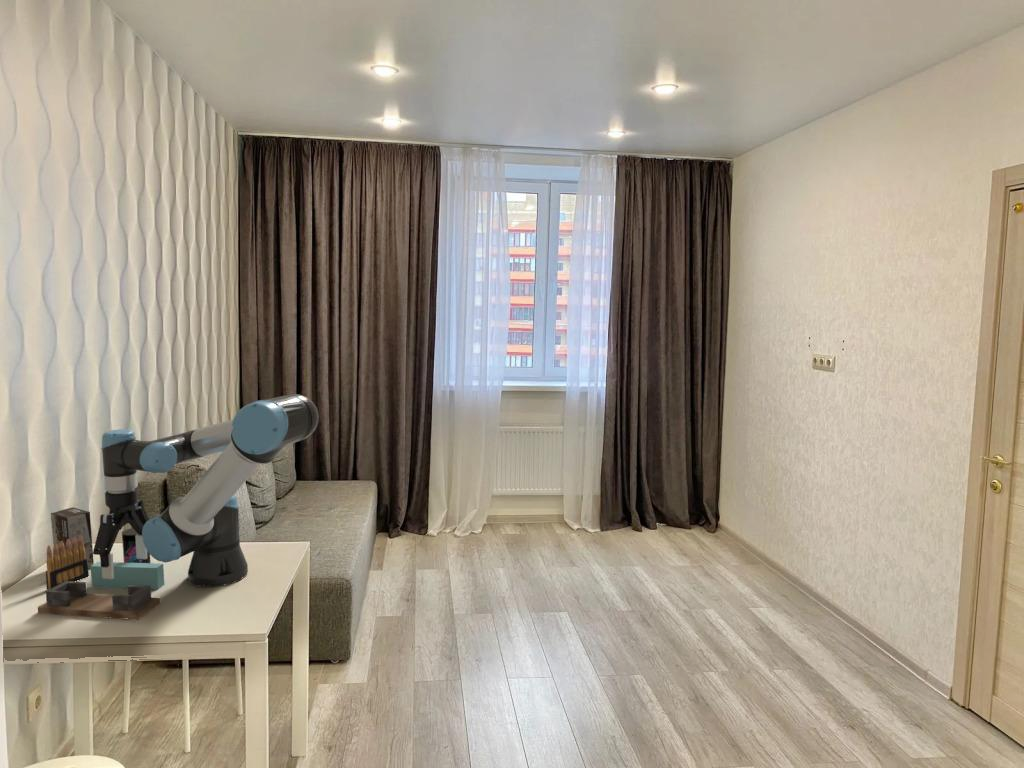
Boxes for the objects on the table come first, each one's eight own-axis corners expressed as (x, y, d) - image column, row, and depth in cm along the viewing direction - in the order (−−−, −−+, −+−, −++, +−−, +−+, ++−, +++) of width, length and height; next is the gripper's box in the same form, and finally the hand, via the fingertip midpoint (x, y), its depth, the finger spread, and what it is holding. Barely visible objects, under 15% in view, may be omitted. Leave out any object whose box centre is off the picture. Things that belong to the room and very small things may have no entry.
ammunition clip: (51, 591, 191) (47, 546, 189) (46, 590, 191) (42, 545, 190) (89, 576, 200) (85, 533, 199) (84, 575, 201) (81, 533, 200)
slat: (164, 585, 195) (163, 563, 194) (158, 590, 192) (156, 567, 191) (99, 583, 196) (97, 561, 195) (91, 588, 193) (90, 566, 192)
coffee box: (95, 567, 207) (91, 511, 205) (71, 574, 201) (66, 517, 199) (78, 560, 212) (73, 506, 210) (54, 568, 206) (49, 512, 204)
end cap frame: (160, 603, 183) (159, 584, 183) (137, 619, 174) (135, 599, 174) (65, 597, 187) (63, 578, 186) (38, 613, 178) (36, 593, 177)
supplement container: (118, 570, 205) (115, 534, 203) (136, 561, 211) (134, 526, 210) (138, 572, 203) (136, 536, 202) (156, 563, 210) (154, 528, 208)
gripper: (138, 476, 203) (142, 550, 206) (73, 502, 179) (78, 586, 182) (163, 477, 202) (167, 551, 205) (101, 504, 178) (106, 588, 181)
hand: (125, 568), depth 194 cm, fingers open, 13 cm apart
